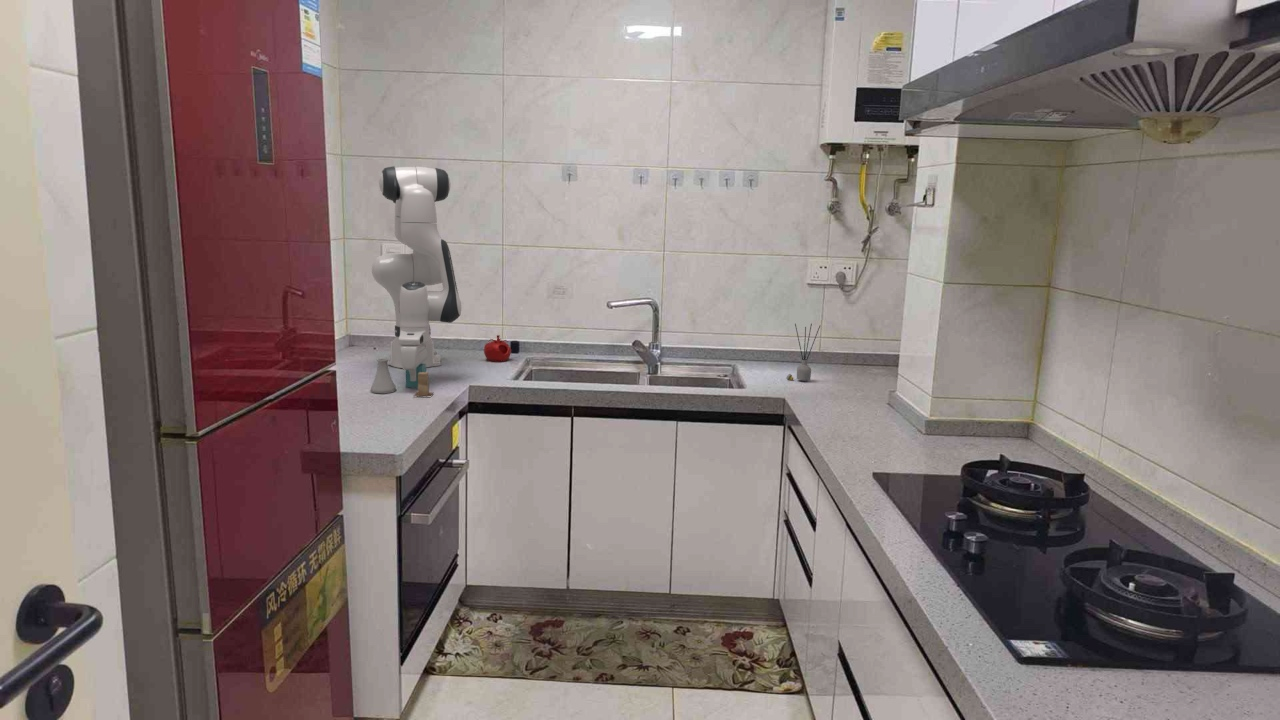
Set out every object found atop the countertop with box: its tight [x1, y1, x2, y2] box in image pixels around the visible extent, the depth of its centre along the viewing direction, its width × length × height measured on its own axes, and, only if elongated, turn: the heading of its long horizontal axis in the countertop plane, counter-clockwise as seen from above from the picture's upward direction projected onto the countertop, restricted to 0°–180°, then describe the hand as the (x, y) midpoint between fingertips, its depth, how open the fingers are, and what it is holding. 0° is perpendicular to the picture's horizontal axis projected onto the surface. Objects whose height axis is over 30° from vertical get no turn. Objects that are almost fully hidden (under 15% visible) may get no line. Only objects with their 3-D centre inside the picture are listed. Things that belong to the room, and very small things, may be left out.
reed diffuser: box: [786, 322, 821, 381], centre depth 281 cm, size 10×7×20 cm
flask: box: [369, 357, 397, 395], centre depth 252 cm, size 7×7×10 cm
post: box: [413, 371, 435, 398], centre depth 248 cm, size 5×5×7 cm
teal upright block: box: [404, 364, 427, 388], centre depth 261 cm, size 5×5×7 cm
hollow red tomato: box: [483, 334, 512, 362], centre depth 306 cm, size 10×10×9 cm
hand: (416, 378), depth 261 cm, fingers closed on teal upright block, 5 cm apart
